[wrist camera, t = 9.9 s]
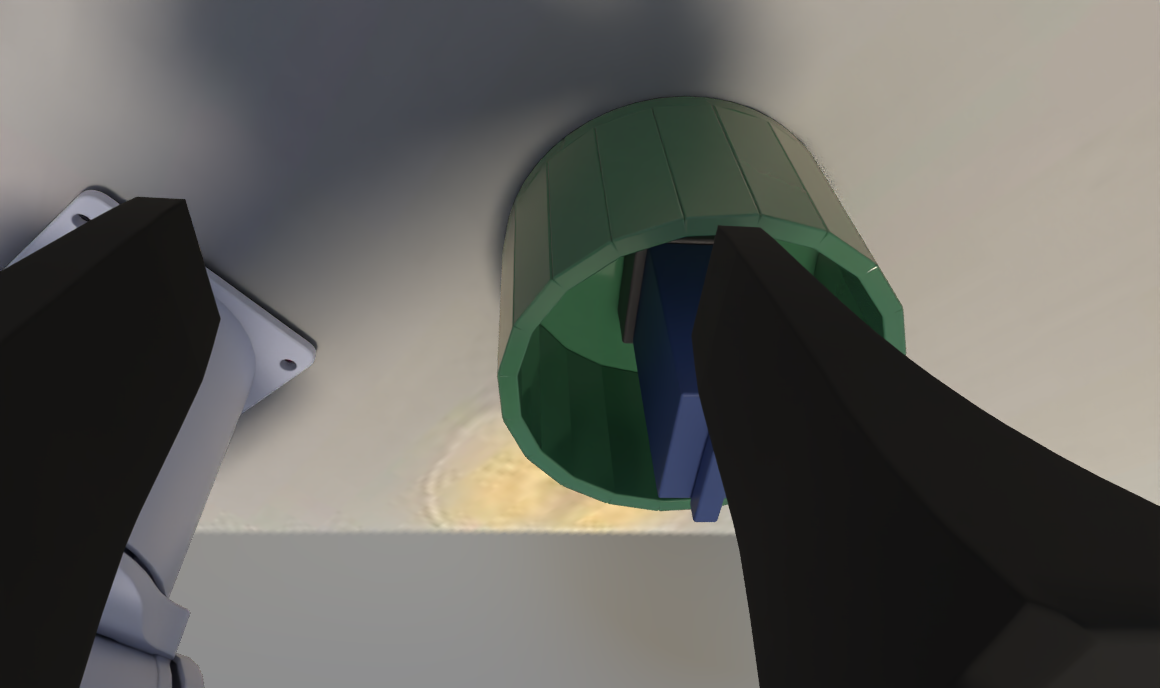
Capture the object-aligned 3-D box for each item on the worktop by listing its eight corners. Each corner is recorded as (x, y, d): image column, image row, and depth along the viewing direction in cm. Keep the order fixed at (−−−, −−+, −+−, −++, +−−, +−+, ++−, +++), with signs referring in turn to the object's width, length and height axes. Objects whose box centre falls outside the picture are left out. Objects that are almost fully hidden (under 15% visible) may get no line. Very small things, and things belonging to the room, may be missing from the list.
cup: (625, 410, 28) (644, 551, 23) (434, 231, 22) (411, 370, 18) (881, 271, 24) (962, 406, 20) (728, 16, 19) (793, 122, 14)
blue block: (703, 314, 24) (762, 523, 18) (617, 312, 24) (647, 523, 18) (727, 208, 22) (805, 411, 16) (631, 205, 21) (672, 410, 15)
